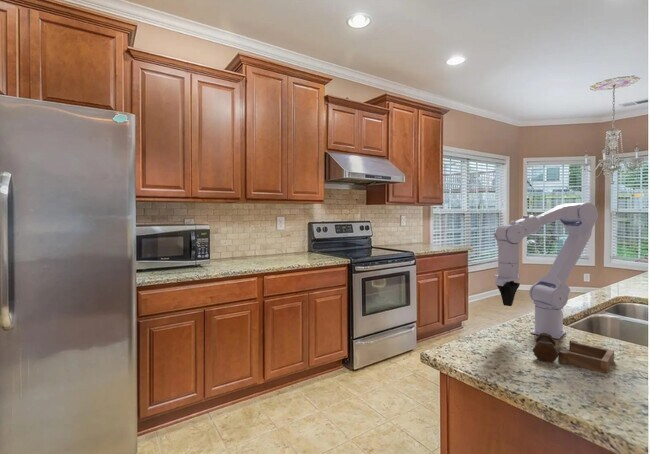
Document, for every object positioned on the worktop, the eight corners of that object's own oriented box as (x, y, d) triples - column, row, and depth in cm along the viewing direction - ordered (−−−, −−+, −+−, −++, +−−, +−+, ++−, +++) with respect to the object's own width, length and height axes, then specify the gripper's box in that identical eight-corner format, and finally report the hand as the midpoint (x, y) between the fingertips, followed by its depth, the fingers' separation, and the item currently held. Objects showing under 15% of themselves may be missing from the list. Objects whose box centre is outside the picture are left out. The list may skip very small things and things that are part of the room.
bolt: (548, 350, 103) (548, 367, 90) (531, 339, 105) (529, 354, 93) (559, 335, 102) (562, 350, 89) (542, 324, 104) (542, 338, 91)
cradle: (570, 349, 99) (570, 339, 99) (614, 359, 92) (614, 349, 92) (557, 362, 90) (557, 351, 90) (605, 375, 83) (606, 363, 83)
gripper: (503, 259, 117) (503, 299, 118) (485, 263, 107) (485, 307, 108) (526, 261, 112) (526, 303, 112) (510, 265, 102) (509, 311, 103)
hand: (507, 305), depth 110 cm, fingers closed
